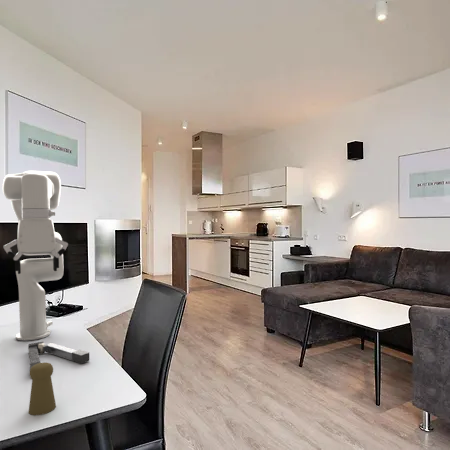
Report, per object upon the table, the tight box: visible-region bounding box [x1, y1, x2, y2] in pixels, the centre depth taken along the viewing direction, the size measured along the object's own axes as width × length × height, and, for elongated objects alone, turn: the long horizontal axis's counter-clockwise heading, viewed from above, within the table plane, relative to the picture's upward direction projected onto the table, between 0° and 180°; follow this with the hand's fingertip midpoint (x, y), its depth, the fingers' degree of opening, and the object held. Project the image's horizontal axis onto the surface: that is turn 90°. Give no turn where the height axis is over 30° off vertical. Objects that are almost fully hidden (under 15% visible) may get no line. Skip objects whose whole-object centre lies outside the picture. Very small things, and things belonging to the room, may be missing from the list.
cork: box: [28, 361, 57, 416], centre depth 89 cm, size 6×6×11 cm
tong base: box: [27, 341, 45, 370], centre depth 120 cm, size 26×5×3 cm, turn 31°
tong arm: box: [38, 342, 90, 365], centre depth 124 cm, size 22×5×3 cm, turn 56°
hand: (37, 272), depth 110 cm, fingers open, 9 cm apart
